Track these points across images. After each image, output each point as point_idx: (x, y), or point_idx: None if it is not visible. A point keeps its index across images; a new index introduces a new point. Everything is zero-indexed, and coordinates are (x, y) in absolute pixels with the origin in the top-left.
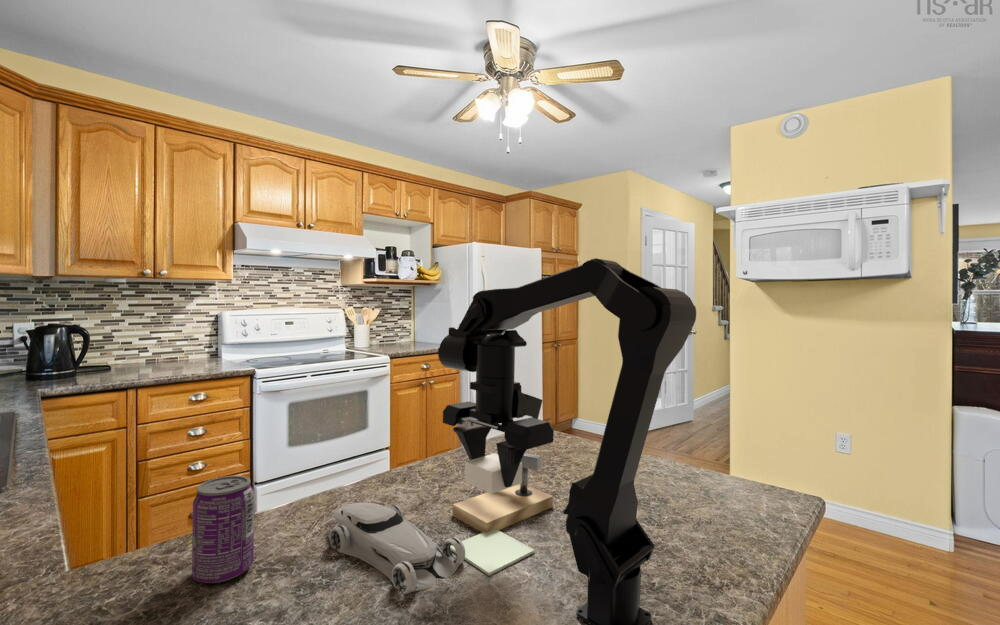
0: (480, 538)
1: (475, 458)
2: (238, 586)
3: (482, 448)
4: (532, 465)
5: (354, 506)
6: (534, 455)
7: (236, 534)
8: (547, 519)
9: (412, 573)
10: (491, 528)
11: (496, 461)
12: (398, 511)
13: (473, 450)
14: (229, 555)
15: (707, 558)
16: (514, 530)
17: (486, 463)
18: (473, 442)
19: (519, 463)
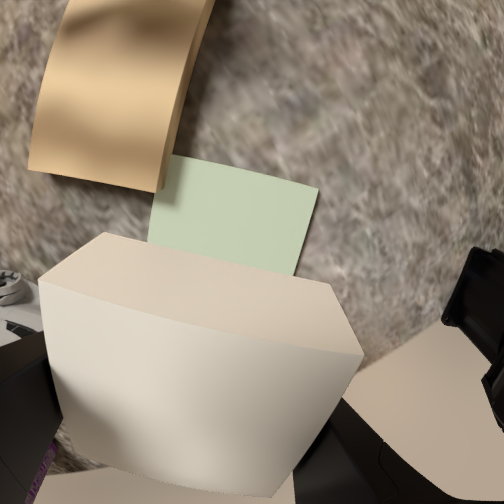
0: (169, 222)
1: (57, 409)
2: (64, 444)
3: (17, 401)
4: None
5: None
6: None
7: (39, 475)
8: (257, 12)
9: None
10: (164, 171)
11: (180, 419)
12: (4, 298)
13: (36, 446)
14: (48, 464)
15: None
16: (210, 115)
17: (162, 453)
18: (11, 474)
19: (386, 448)
